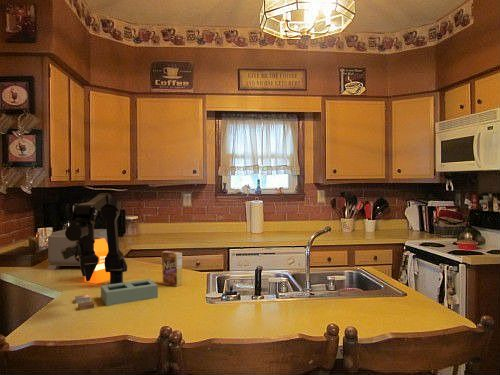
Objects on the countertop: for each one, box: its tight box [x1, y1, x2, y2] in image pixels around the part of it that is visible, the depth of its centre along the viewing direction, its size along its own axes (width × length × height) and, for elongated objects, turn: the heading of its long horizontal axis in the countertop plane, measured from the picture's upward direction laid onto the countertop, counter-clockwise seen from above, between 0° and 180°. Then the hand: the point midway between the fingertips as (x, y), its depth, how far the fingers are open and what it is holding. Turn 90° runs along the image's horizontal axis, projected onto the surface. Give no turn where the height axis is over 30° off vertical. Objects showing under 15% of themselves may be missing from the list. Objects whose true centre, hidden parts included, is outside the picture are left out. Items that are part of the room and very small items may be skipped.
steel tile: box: [74, 294, 91, 304], centre depth 151 cm, size 4×5×2 cm
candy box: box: [161, 250, 183, 288], centre depth 175 cm, size 9×4×15 cm, turn 60°
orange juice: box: [84, 238, 110, 284], centre depth 183 cm, size 8×9×20 cm
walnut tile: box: [77, 300, 95, 311], centre depth 142 cm, size 4×5×2 cm
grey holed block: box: [100, 278, 159, 307], centre depth 155 cm, size 12×20×5 cm, turn 122°
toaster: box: [46, 228, 108, 271], centre depth 215 cm, size 19×35×20 cm, turn 89°
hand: (86, 278), depth 142 cm, fingers open, 9 cm apart
